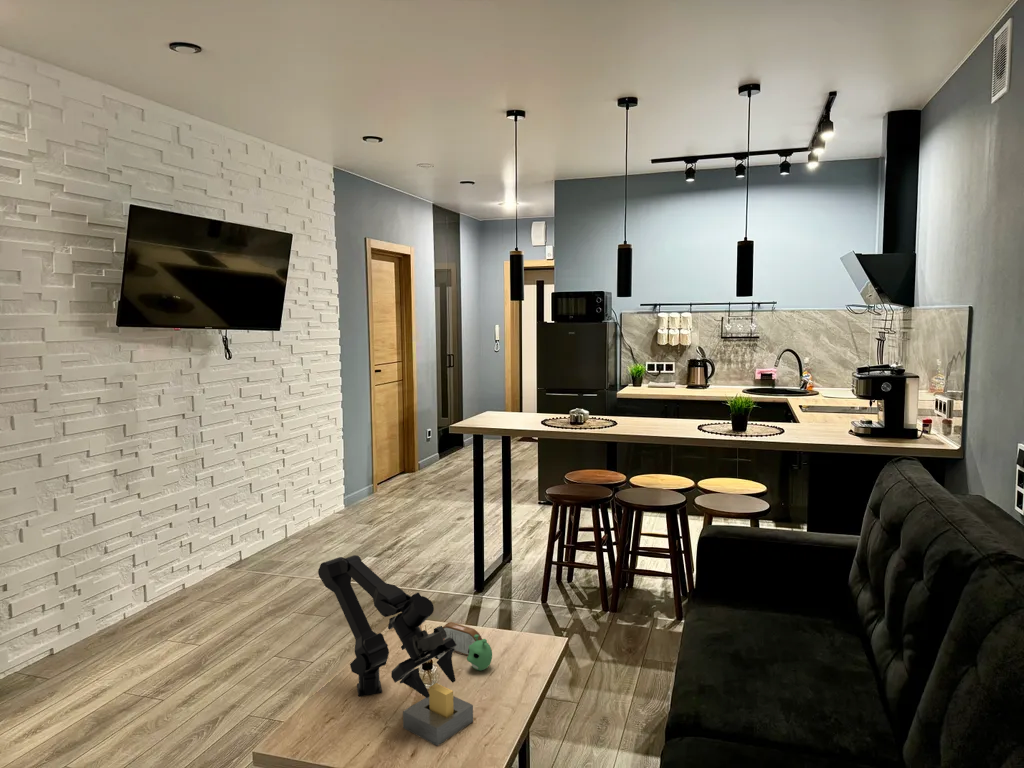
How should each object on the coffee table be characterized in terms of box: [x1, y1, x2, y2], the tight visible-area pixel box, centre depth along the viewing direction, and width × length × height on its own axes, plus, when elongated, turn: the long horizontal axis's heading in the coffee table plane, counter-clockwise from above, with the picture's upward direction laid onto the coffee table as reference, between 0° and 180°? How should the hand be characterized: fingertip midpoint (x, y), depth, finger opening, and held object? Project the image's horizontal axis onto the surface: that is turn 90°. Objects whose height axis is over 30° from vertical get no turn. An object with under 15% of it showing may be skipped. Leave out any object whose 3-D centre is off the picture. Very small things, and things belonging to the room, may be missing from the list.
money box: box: [402, 695, 474, 747], centre depth 178 cm, size 12×13×4 cm
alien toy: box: [466, 634, 493, 671], centre depth 206 cm, size 7×8×10 cm
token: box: [428, 682, 454, 718], centre depth 177 cm, size 6×2×10 cm, turn 51°
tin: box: [442, 621, 483, 656], centre depth 216 cm, size 15×3×8 cm, turn 58°
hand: (441, 689), depth 177 cm, fingers open, 9 cm apart
